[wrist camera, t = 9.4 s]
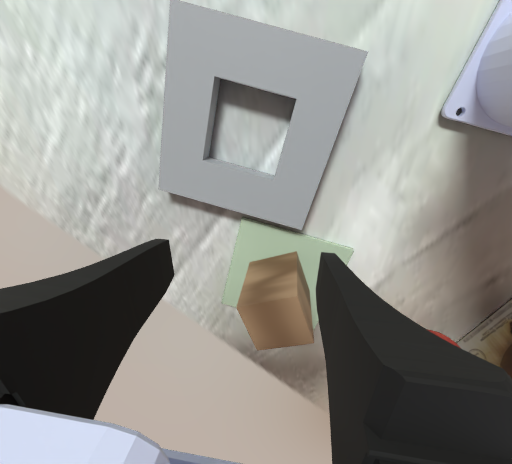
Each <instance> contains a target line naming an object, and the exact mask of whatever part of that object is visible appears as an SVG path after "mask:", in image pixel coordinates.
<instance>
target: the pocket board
mask: <svg viewBox="0 0 512 464" xmlns="http://www.w3.org/2000/svg"><path fill="white" fill-rule="evenodd" d="M367 54H368V52H367V51H364V50H360V49H356V48H353V47H349V46H345V45H342V44H338V43H334V42H331V41H327V40H323V39H320V38H316V37H312V36H309V35H305V34H301V33H297V32H294V31H290V30H286V29H283V28H279V27H275V26H272V25H268V24H264V23H261V22H257V21H253V20H250V19H246V18H242V17H239V16H235V15H231V14H227V13H224V12H220V11H216V10H213V9H209V8H205V7H202V6H198V5H194V4H191V3H187V2H183V1H180V0H170V11H169V27H168V44H167V60H166V76H165V92H164V108H163V124H162V140H161V156H160V172H159V190H162V191H166V192H169V193H173V194H176V195H180V196H183V197H187V198H190V199H194V200H198V201H201V202H205V203H208V204H212V205H215V206H219V207H222V208H226V209H229V210H233V211H236V212H240V213H243V214H247V215H250V216H254V217H257V218H261V219H264V220H268V221H271V222H275V223H278V224H282V225H285V226H289V227H292V228H296V229H299V230H302V228H303V225H304V222H305V220H306V217H307V214H308V212H309V209H310V206H311V204H312V201H313V198H314V196H315V193H316V190H317V188H318V185H319V182H320V180H321V177H322V174H323V172H324V169H325V166H326V164H327V161H328V158H329V155H330V153H331V150H332V147H333V145H334V142H335V139H336V137H337V134H338V131H339V129H340V126H341V123H342V121H343V118H344V115H345V113H346V110H347V107H348V105H349V102H350V99H351V97H352V94H353V91H354V88H355V86H356V83H357V80H358V78H359V75H360V72H361V70H362V67H363V64H364V62H365V59H366V56H367ZM221 79H223V80H227V81H230V82H234V83H238V84H241V85H245V86H249V87H252V88H256V89H259V90H263V91H267V92H270V93H274V94H278V95H281V96H285V97H288V98H292V99H296V103H295V106H294V110H293V113H292V117H291V120H290V124H289V127H288V131H287V135H286V138H285V142H284V145H283V149H282V152H281V156H280V159H279V163H278V166H277V170H276V173H275V176H274V175H270V174H267V173H263V172H260V171H256V170H253V169H249V168H246V167H242V166H238V165H235V164H231V163H228V162H224V161H221V160H217V159H214V158H210V157H209V152H210V146H211V139H212V133H213V126H214V119H215V113H216V106H217V100H218V93H219V86H220V80H221Z"/></svg>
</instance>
